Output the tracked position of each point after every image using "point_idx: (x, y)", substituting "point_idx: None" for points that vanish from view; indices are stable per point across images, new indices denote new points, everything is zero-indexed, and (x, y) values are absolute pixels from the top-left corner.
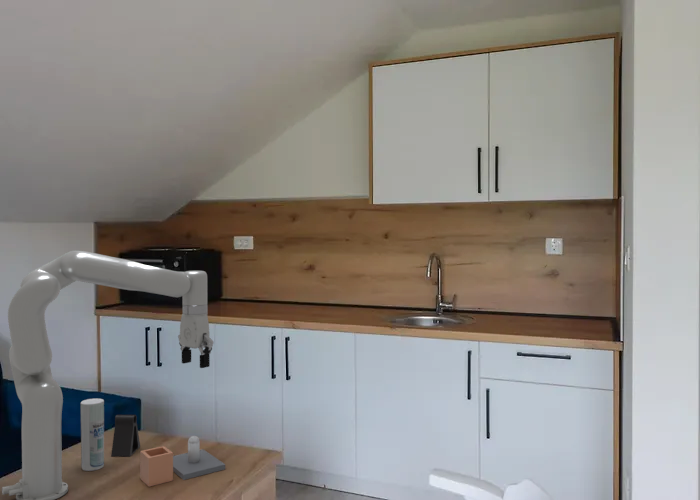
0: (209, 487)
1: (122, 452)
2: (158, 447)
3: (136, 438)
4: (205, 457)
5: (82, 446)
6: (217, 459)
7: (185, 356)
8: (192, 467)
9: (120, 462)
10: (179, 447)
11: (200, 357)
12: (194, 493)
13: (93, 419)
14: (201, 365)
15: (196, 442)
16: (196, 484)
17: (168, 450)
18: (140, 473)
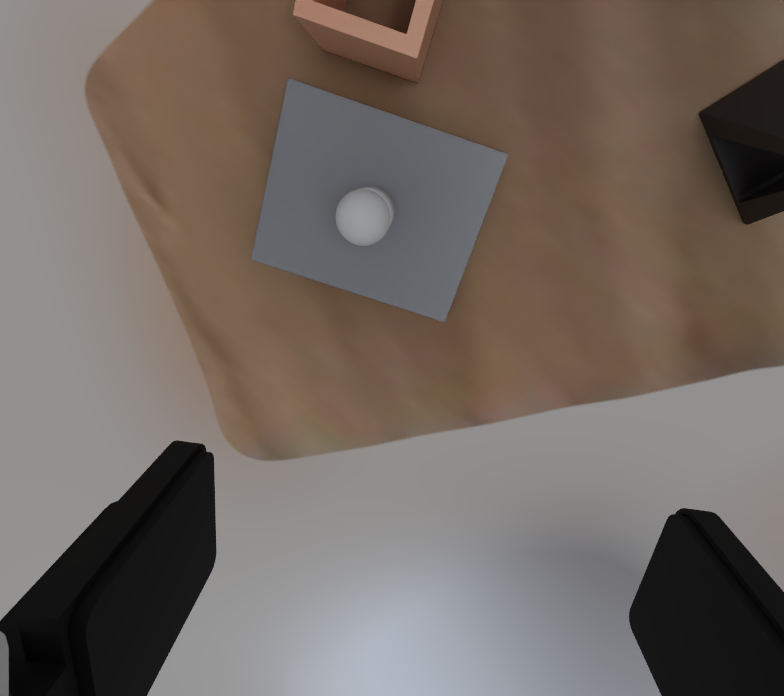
0: (161, 96)
1: (747, 91)
2: (422, 20)
3: (769, 193)
4: (366, 265)
5: None
6: (312, 277)
7: (720, 637)
8: (323, 159)
9: (687, 37)
10: (578, 313)
11: (66, 567)
12: (153, 14)
13: None
14: (159, 469)
15: (336, 212)
16: (220, 84)
17: (339, 22)
18: None
